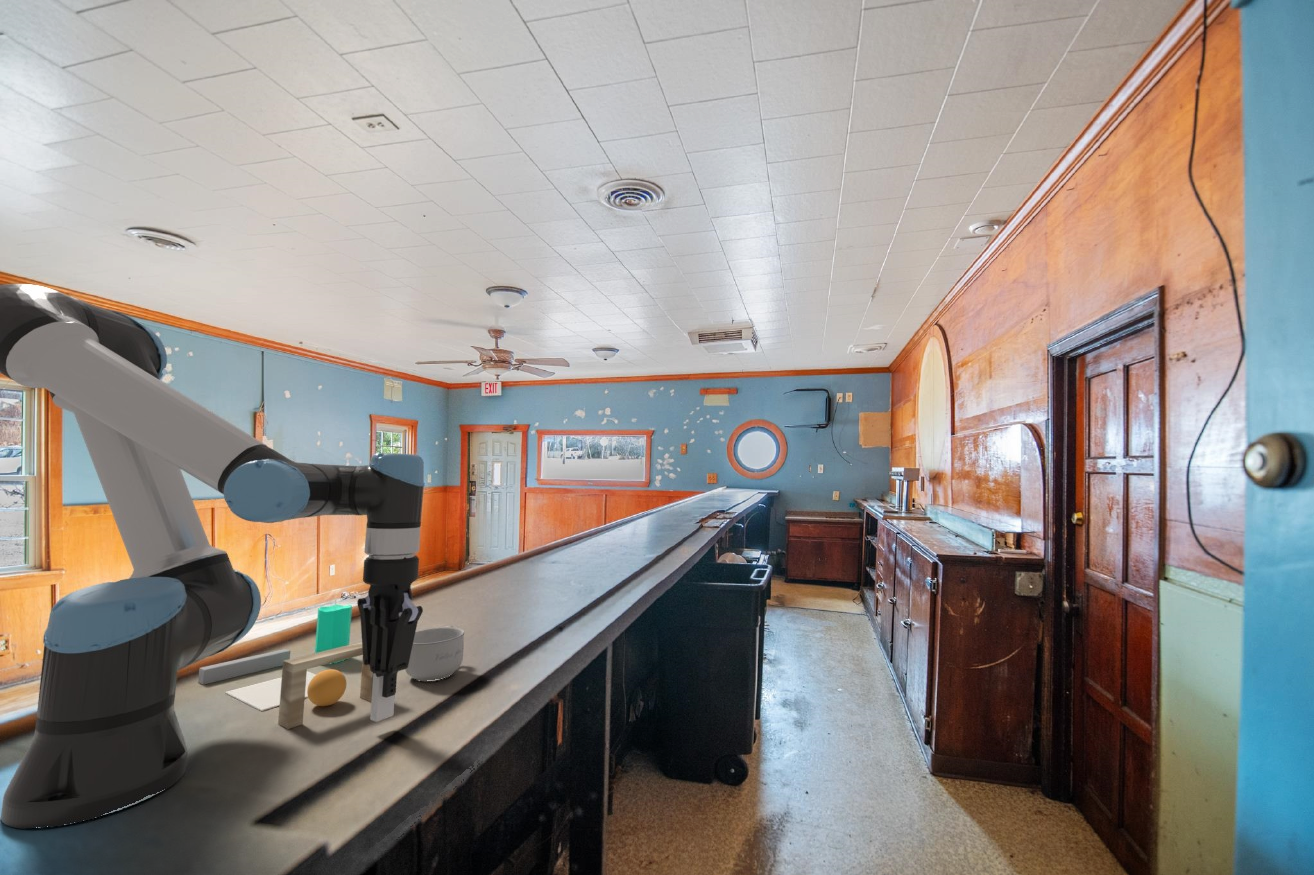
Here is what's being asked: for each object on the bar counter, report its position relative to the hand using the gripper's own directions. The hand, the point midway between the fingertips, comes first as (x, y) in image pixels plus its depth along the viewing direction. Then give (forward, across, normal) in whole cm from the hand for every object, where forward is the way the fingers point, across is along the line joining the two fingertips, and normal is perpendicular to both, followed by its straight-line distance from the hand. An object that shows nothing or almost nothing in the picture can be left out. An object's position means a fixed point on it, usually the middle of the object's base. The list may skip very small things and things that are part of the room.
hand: (381, 717), depth 81 cm
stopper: (+2, +43, 0) cm, 43 cm away
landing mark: (+2, +28, 0) cm, 28 cm away
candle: (+2, +38, -13) cm, 40 cm away
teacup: (+2, +14, -20) cm, 25 cm away
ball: (-1, +16, 0) cm, 16 cm away
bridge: (+2, +13, 0) cm, 13 cm away
